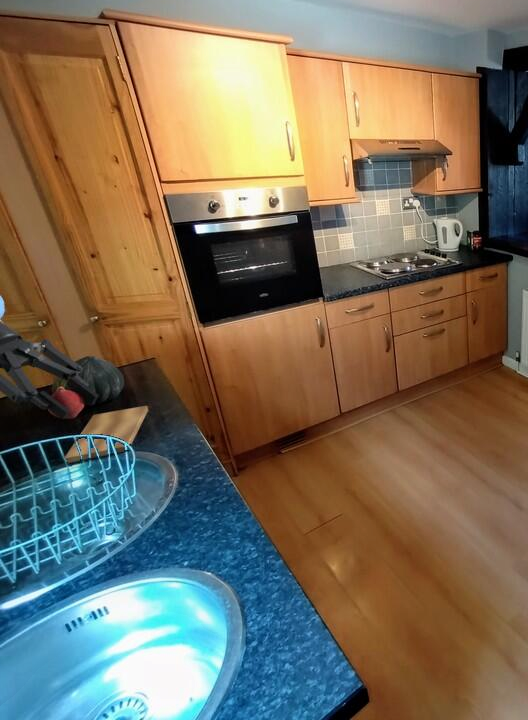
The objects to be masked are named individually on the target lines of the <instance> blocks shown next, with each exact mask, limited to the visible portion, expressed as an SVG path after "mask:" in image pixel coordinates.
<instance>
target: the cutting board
mask: <svg viewBox="0 0 528 720" xmlns="http://www.w3.org/2000/svg"><path fill="white" fill-rule="evenodd" d="M148 412H149V408H148V405H143V406H137V407H132V408H131V407H130V408H126V409H125V408H124V409H120V410H113V411H108V412H103V413H97V414H93V415H92V416H91V418H90V419H89V420H88V422H87V424H86V426H85V427H84V428H83V430H82V431H81V433H80V434H79V436H80V435H81V434H103V435H110V436H114V437H117V438H120V439H122V440H124V441H126V442H127V443H128V444H131V445H133V442H134V440H135V438H136V437H137V434H138V432H139V430H140V428H141V426H142V424H143V422H144V420H145V418H146V416H147V414H148ZM77 439H78V438H77ZM78 443H79V447H80V449H81V456H82V459H83V460H82V461H85V460H89V459H88V441H87V439H85V438H81V439H78ZM94 446H95V447H96V448H97V449H98V452H99V455H100V457H106V456H108V455H107V451H108V449H107V444H106V440H104V439H94ZM115 448H116V450H117V451H118V453H117V454H119V453H124V450H125V448H124V445H123V444H121V443H119V442H116V443H115ZM64 458H66V460H67V462H68V463H67V464H72V463H76V462H81V461H80V459H81V458H80V455H79V452H78V450H77V447H76V444H75V442H74V443H73V444H72V446H71V447H70V449H69V450H68V452H67V453H66V455H65V456H64ZM96 458H98V457H97V455H96V451H95V449H94V448H91V459H96Z"/></svg>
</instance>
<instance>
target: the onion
mask: <svg viewBox="0 0 528 720" xmlns="http://www.w3.org/2000/svg"><path fill="white" fill-rule="evenodd" d="M50 396H51V397H52V398H54V399H55V400H56V401H58V402H59V403H60V404H62V405H63V406H64V407H66V408H67V409H68V410H70V412H69V414H68V415H67V417H66V418H65V419H70V420H71V419H75V418H77V416H78V415H79V414H80V412H82V410H83V409H84V404H85V403H84V399H83V398H82V396H81V395H80V394H78V393H76V392H74V391H70V390H65V389H64V387H59V388H58V389H57V390H56V392H55V393H54V394H53V393H52V394H51V395H50ZM47 411H48V412H49V414H50V415H52V416H54V417H56V418H60V417H58V416H57V415H56V414H54V413H53V412H52V411H50V410H49V409H47ZM60 419H61V418H60Z"/></svg>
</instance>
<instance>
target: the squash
mask: <svg viewBox="0 0 528 720" xmlns="http://www.w3.org/2000/svg"><path fill="white" fill-rule="evenodd" d="M74 362H76V363H77V364H78V365H80V366H81V367H82V370H81V371H80V373H79V375H78V376H79V377H80V378H82V379H83V380H84V381H86V382H87V383H88V384H89V386H88V388H90V389H91V390H92V391H94V392H95V393H96V394H98V395H99V396H98V398H97V399H96V401H95V402H94V403H92V404H91V403H90V402H89V401H87V400H86V399H85V398H83V397H82V398H83V399H84V403H85V404H84V407H86V406H87V407H92V406H94V405H96V404H101V403H104V402H109V401H113V400H115V399H116V398H117V397H118V396H119V394H120V393H121V391H122V390H123V388H124V385H125V379H124V376H123V374H122V372H121V371H120V370H119V369H118V368H117V367H116V366H115V364H113V363H112V362H110V361H107V360H105V359H103V358H100V357H97V356H94V355H87V356H84V357H81V358H79V359H77V360H75V361H74ZM67 383H68V381H66V380H64V379H62V378H60V377H57V376H55V378H54V380H53V383H52V387H51V391H52V395H53V394H54V393H55V392H56V390H57V389H58V388H59V387H64V389H65V390H70V391H74V390H73V389H71V388H70V387H69V386H67V385H66V384H67ZM74 392H75V391H74ZM76 393H77V392H76ZM84 407H83V408H84Z"/></svg>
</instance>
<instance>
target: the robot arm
mask: <svg viewBox="0 0 528 720" xmlns="http://www.w3.org/2000/svg"><path fill="white" fill-rule="evenodd" d="M5 307H6V306H5V301H4V299H3V297H2V295H0V369H3V371H4V372H5V374H6V375H7V376H8V377H9V378H11V380H12V382H11V381H10V380H9V379H8V378H7V377H6V376H4V375H3V374H2V373H0V392H1V393H2V394H3V395H4V396H6V397H7V398H8V399H9V400H11V401H12V402H13V403H15V404H20V403H22V402H25V403H27V404H29V403H33V404H34V405H35V406H37V407H38V408H40V409H41V410H44V411H46V410H48V409H49V410H50V411H52V412H53V413H54V414H56V415H57V416H58V417H57V418H59V417H60V419H61V420H64V419H67V418H66V417H67V415H68V414H69V412H70V410H68V409H67V408H66V407H64V406H63V405H62V404H60V403H59V402H58V401H56V400H55V399H54V398H52V397H51V396H52V395H50V394H48V393H47V392H46V391H44V390H41V391H39V392H38V390H37V388H35V386H34V385H33V383H32V382H31V379H29V377H28V376H27V374H26V373H25V372H24V370H23V369H22V368H23V367H28V366H29V367H31V368H36V369H39V370H41V371H44V372H46V373H48V374H51V375H52V376H55V377H56V376H57V377H60V378H62V379H64V380H66V381H68V383H67V384H66V385H67V386H69V387H70V388H71V389H73V390H74V391H75V392H77V393H78V394H80V395H81V396H82V397H83V398H85V399H86V400H87V401H89V402H90V403H91V404H92V403H94V402H95V401H96V399H97V398H98V396H99V395H98V394H96V393H95V392H94V391H92V390H91V389H90V388H88V386H89V384H88V383H87V382H86V381H84V380H83V379H82V378H80V377H79V376H78V375H79V373H80V371H81V370H82V367H81V366H80V365H78V364H77V363H76V362H75V361H74V360H73V359H71V358H70V357H69V356H67V355H66V354H64V353H63V352H61V350H58V348H56V347H54V346H53V344H52V342H51V341H50V340H49V339H47V338H46V339H43V340H42V341H41V342H31V341H29V340H28V341H27V340H25V339H24V338H23V337H22V336H21V335H20V334H19V333H18V332H17V331H15V329H13V328H12V327H10V326H9V325H8V324H5V323H4V321H3V320H1V319H2V318H3V316H4V314H5V311H6V310H5ZM35 350H36V351H38V352H36V351H35ZM41 353H42V354H41ZM13 382H14V383H13Z"/></svg>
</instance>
